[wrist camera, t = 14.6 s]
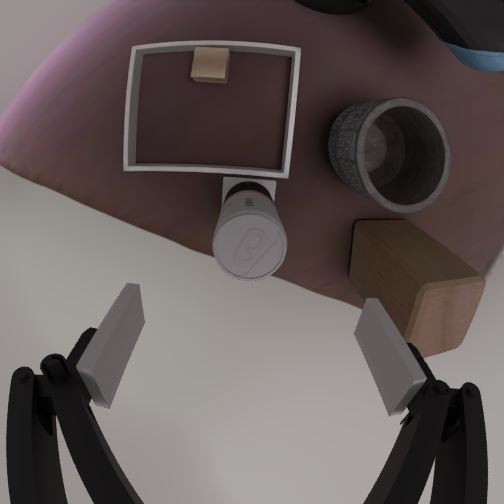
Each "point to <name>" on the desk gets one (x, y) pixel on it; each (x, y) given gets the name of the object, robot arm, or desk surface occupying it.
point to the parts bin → (183, 46)
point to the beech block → (211, 65)
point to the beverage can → (249, 233)
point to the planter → (391, 153)
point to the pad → (232, 181)
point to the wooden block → (415, 283)
